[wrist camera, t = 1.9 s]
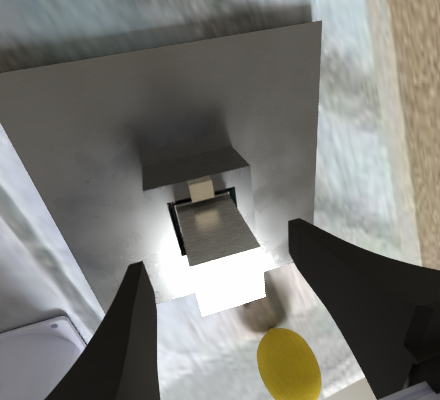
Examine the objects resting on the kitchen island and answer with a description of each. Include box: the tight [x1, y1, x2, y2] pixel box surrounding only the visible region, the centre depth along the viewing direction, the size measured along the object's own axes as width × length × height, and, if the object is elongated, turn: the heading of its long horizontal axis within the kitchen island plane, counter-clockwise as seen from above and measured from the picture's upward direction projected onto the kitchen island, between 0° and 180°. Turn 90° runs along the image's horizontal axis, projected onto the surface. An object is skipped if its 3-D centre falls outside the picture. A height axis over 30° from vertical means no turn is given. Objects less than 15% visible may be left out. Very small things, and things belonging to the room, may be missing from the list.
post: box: [174, 189, 265, 316], centre depth 15 cm, size 3×3×8 cm
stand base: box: [0, 21, 322, 315], centre depth 18 cm, size 18×18×5 cm
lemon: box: [257, 328, 322, 400], centre depth 27 cm, size 6×6×8 cm
